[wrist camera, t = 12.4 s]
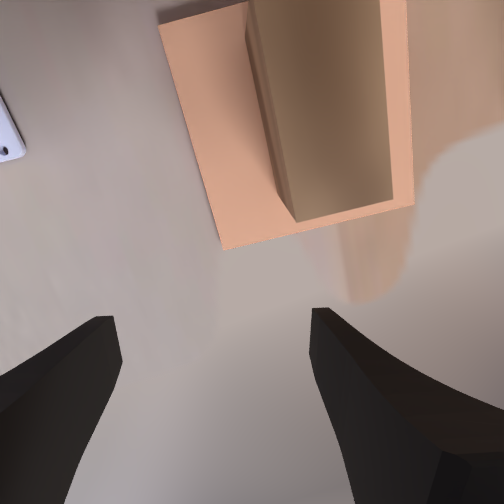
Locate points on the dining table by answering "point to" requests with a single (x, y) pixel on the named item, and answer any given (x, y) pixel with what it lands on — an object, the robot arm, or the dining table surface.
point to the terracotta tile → (251, 126)
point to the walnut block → (322, 102)
